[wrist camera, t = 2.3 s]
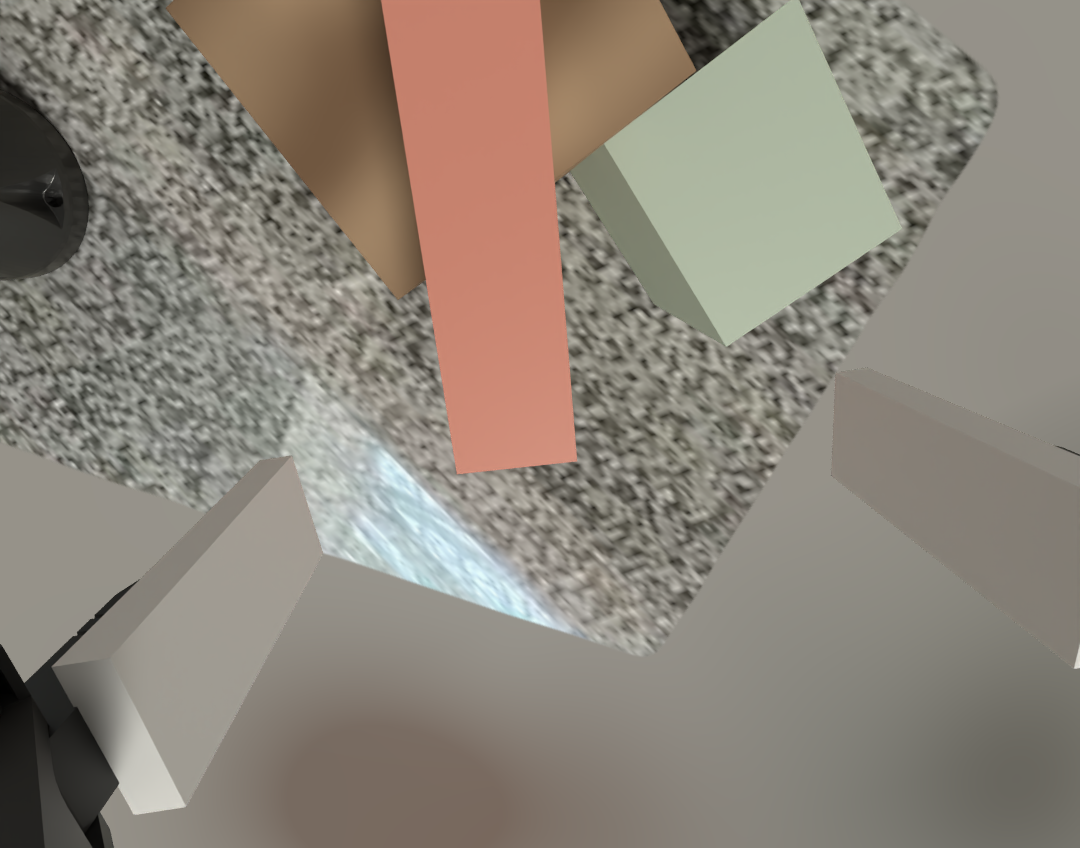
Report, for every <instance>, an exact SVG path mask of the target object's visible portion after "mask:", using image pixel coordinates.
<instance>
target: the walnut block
mask: <svg viewBox="0 0 1080 848" xmlns="http://www.w3.org/2000/svg"><path fill="white" fill-rule="evenodd" d="M540 7H541V20H542V32H543V45H544V57H545V70H546V82H547V94H548V107H549V119H550V132H551V144H552V157H553V169H554V182H556V181H558V180H559V179H560V178H562V177H563V176H564V175H566V174H567V173H568V172H569V171H571V170H572V169H573V168H574V167H576V166H577V165H578V164H579V163H581V162H582V161H583V160H584V159H586V158H587V157H588V156H589V155H590V154H592V153H593V152H594V151H595V150H597V149H598V148H599V147H600V146H602V145H603V144H604V143H605V142H607V141H608V140H609V139H611V138H612V137H613V136H615V135H616V134H617V133H618V132H620V131H621V130H622V129H624V128H625V127H626V126H628V125H629V124H630V123H631V122H633V121H634V120H635V119H637V118H638V117H639V116H640V115H642V114H643V113H644V112H645V111H647V110H648V109H649V108H650V107H652V106H653V105H654V104H655V103H657V102H658V101H659V100H660V99H662V98H663V97H664V96H665V95H667V94H668V93H669V92H670V91H672V90H673V89H674V88H675V87H677V86H678V85H679V84H680V83H682V82H683V81H684V80H685V79H687V78H688V77H689V76H690V75H692V74H693V73H694V72H695V71H696V69H695V67H694V65H693V63H692V61H691V59H690V57H689V56H688V54H687V52H686V50H685V48H684V46H683V44H682V42H681V40H680V38H679V37H678V35H677V33H676V31H675V29H674V27H673V25H672V23H671V21H670V19H669V18H668V16H667V14H666V12H665V10H664V8H663V6H662V4H661V2H660V0H540ZM166 9H167V11H168V12H169V13H170V14H171V16H172V17H173V18H174V19H175V21H176V22H177V23H178V24H179V26H180V27H181V28H182V29H183V31H184V32H185V33H186V35H187V36H188V37H189V38H190V40H191V41H192V42H193V43H194V45H195V46H196V47H197V48H198V50H199V51H200V52H201V53H202V55H203V56H204V57H205V58H206V60H207V61H208V62H209V63H210V65H211V66H212V67H213V68H214V70H215V71H216V72H217V73H218V75H219V76H220V77H221V78H222V80H223V81H224V82H225V83H226V85H227V86H228V87H229V88H230V90H231V91H232V92H233V94H234V95H235V96H236V97H237V99H238V100H239V101H240V102H241V104H242V105H243V106H244V107H245V109H246V110H247V111H248V112H249V114H250V115H251V116H252V117H253V119H254V120H255V121H256V122H257V124H258V125H259V126H260V127H261V129H262V130H263V131H264V132H265V134H266V135H267V136H268V137H269V139H270V140H271V141H272V142H273V144H274V145H275V146H276V147H277V149H278V150H279V151H280V153H281V154H282V155H283V156H284V158H285V159H286V160H287V161H288V163H289V164H290V165H291V166H292V168H293V169H294V170H295V171H296V173H297V174H298V175H299V176H300V178H301V179H302V180H303V181H304V183H305V184H306V185H307V186H308V188H309V189H310V190H311V191H312V193H313V194H314V195H315V196H316V198H317V199H318V200H319V201H320V203H321V204H322V205H323V206H324V208H325V209H326V210H327V212H328V213H329V214H330V215H331V217H332V218H333V219H334V220H335V222H336V223H337V224H338V225H339V227H340V228H341V229H342V230H343V232H344V233H345V234H346V235H347V237H348V238H349V239H350V240H351V242H352V243H353V244H354V245H355V247H356V248H357V249H358V250H359V252H360V253H361V254H362V255H363V257H364V258H365V259H366V260H367V262H368V263H369V264H370V265H371V267H372V268H373V269H374V270H375V272H376V273H377V274H378V276H379V277H380V278H381V279H382V281H383V282H384V283H385V284H386V286H387V287H388V288H389V289H390V291H391V292H392V293H393V294H394V296H395V297H396V298H397V299H398V300H399V299H400V298H401V297H403V296H404V295H406V294H407V293H408V292H410V291H411V290H413V289H414V288H415V287H417V286H418V285H420V284H421V283H422V282H424V281H425V280H426V277H425V271H424V265H423V259H422V252H421V246H420V240H419V234H418V227H417V221H416V215H415V209H414V202H413V196H412V190H411V184H410V177H409V171H408V165H407V159H406V152H405V146H404V140H403V134H402V128H401V121H400V115H399V109H398V103H397V96H396V90H395V84H394V78H393V71H392V65H391V59H390V53H389V46H388V40H387V34H386V28H385V22H384V15H383V9H382V3H381V0H174V1H173V2H172V3H171V4H169V5H168V6H167V7H166Z"/></svg>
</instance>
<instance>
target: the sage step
mask: <svg viewBox="0 0 1080 848" xmlns="http://www.w3.org/2000/svg"><path fill="white" fill-rule="evenodd" d="M570 172H571V174H572V175H573V177H574V179H575V180H576V182H577V183H578V185H579V186H580V188H581V190H582V191H583V193H584V194H585V196H586V198H587V199H588V201H589V202H590V204H591V205H592V207H593V209H594V210H595V212H596V213H597V215H598V216H599V218H600V220H601V221H602V223H603V224H604V226H605V228H606V229H607V231H608V232H609V234H610V235H611V237H612V239H613V240H614V242H615V243H616V245H617V246H618V248H619V250H620V251H621V253H622V254H623V256H624V258H625V259H626V261H627V262H628V264H629V265H630V267H631V269H632V270H633V272H634V273H635V275H636V276H637V278H638V280H639V281H640V283H641V284H642V286H643V288H644V289H645V291H646V292H647V294H648V295H649V297H650V299H651V300H652V302H653V303H654V304H655V305H656V306H658V307H660V308H661V309H663V310H665V311H666V312H668V313H670V314H672V315H673V316H675V317H677V318H678V319H680V320H682V321H683V322H685V323H687V324H689V325H690V326H692V327H694V328H695V329H697V330H699V331H700V332H702V333H704V334H706V335H707V336H709V337H711V338H712V339H714V340H716V341H717V342H719V343H721V344H722V345H724V346H726V347H727V346H728V345H730V344H731V343H733V342H734V341H736V340H737V339H739V338H740V337H742V336H743V335H745V334H746V333H748V332H749V331H750V330H752V329H753V328H755V327H756V326H758V325H759V324H761V323H762V322H764V321H765V320H767V319H768V318H770V317H771V316H773V315H774V314H776V313H777V312H779V311H780V310H782V309H783V308H785V307H786V306H788V305H789V304H791V303H792V302H794V301H795V300H797V299H798V298H800V297H801V296H803V295H804V294H806V293H807V292H809V291H810V290H811V289H813V288H814V287H816V286H817V285H819V284H820V283H822V282H823V281H825V280H826V279H828V278H829V277H831V276H832V275H834V274H835V273H837V272H838V271H840V270H841V269H843V268H844V267H846V266H847V265H849V264H850V263H852V262H853V261H855V260H856V259H858V258H859V257H861V256H862V255H864V254H865V253H867V252H868V251H870V250H871V249H872V248H874V247H875V246H877V245H878V244H880V243H881V242H883V241H884V240H886V239H887V238H889V237H890V236H892V235H893V234H895V233H896V232H898V231H899V230H901V229H902V228H901V225H900V223H899V221H898V219H897V216H896V214H895V212H894V210H893V208H892V205H891V203H890V201H889V199H888V196H887V194H886V192H885V190H884V188H883V185H882V183H881V181H880V179H879V177H878V174H877V172H876V170H875V168H874V165H873V163H872V161H871V159H870V157H869V154H868V152H867V150H866V148H865V145H864V143H863V141H862V139H861V137H860V134H859V132H858V130H857V128H856V126H855V123H854V121H853V119H852V117H851V114H850V112H849V110H848V108H847V106H846V103H845V101H844V99H843V97H842V94H841V92H840V90H839V88H838V86H837V83H836V81H835V79H834V77H833V75H832V72H831V70H830V68H829V66H828V63H827V61H826V59H825V57H824V55H823V52H822V50H821V48H820V46H819V43H818V41H817V39H816V37H815V35H814V32H813V30H812V28H811V26H810V24H809V21H808V19H807V17H806V15H805V12H804V10H803V8H802V6H801V4H800V1H799V0H790V1H789V2H788V3H786V4H785V5H784V6H783V7H781V8H780V9H779V10H777V11H776V12H775V13H773V14H772V15H771V16H770V17H768V18H767V19H766V20H764V21H763V22H762V23H760V24H759V25H758V26H757V27H755V28H754V29H753V30H751V31H750V32H749V33H747V34H746V35H745V36H743V37H742V38H741V39H740V40H738V41H737V42H736V43H734V44H733V45H732V46H730V47H729V48H728V49H727V50H725V51H724V52H723V53H721V54H720V55H719V56H717V57H716V58H715V59H714V60H712V61H711V62H710V63H708V64H707V65H706V66H704V67H703V68H702V69H701V70H699V71H698V72H697V73H695V74H694V75H693V76H691V77H690V78H689V79H687V80H686V81H685V82H684V83H682V84H681V85H680V86H678V87H677V88H676V89H674V90H673V91H672V92H671V93H669V94H668V95H667V96H665V97H664V98H663V99H661V100H660V101H659V102H658V103H656V104H655V105H654V106H652V107H651V108H650V109H648V110H647V111H646V112H644V113H643V114H642V115H641V116H639V117H638V118H637V119H635V120H634V121H633V122H631V123H630V124H629V125H628V126H626V127H625V128H624V129H622V130H621V131H620V132H618V133H617V134H616V135H615V136H613V137H612V138H611V139H609V140H608V141H607V142H605V143H604V144H603V145H602V146H600V147H599V148H598V149H597V150H595V151H594V152H593V153H592V154H590V155H589V156H588V157H587V158H586V159H584V160H583V161H582V162H581V163H579V164H578V165H577V166H576V167H574V168H573V169H572V170H571V171H570Z"/></svg>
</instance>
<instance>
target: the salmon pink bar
mask: <svg viewBox="0 0 1080 848" xmlns="http://www.w3.org/2000/svg"><path fill="white" fill-rule="evenodd" d="M381 3H382V9H383V15H384V22H385V28H386V34H387V40H388V46H389V53H390V59H391V65H392V71H393V78H394V84H395V90H396V96H397V103H398V109H399V115H400V121H401V128H402V134H403V140H404V146H405V152H406V159H407V165H408V171H409V177H410V184H411V190H412V196H413V202H414V209H415V215H416V221H417V227H418V234H419V240H420V246H421V252H422V259H423V265H424V271H425V277H426V283H427V290H428V296H429V302H430V308H431V315H432V321H433V327H434V333H435V340H436V346H437V352H438V358H439V365H440V371H441V377H442V383H443V389H444V396H445V402H446V408H447V414H448V421H449V427H450V433H451V439H452V446H453V452H454V458H455V464H456V471H457V474H463V473H473V472H482V471H491V470H500V469H510V468H519V467H528V466H537V465H547V464H556V463H565V462H574V461H577V455H576V443H575V430H574V418H573V405H572V393H571V380H570V368H569V356H568V343H567V331H566V318H565V306H564V293H563V281H562V269H561V256H560V244H559V231H558V219H557V206H556V194H555V182H554V169H553V157H552V144H551V132H550V119H549V107H548V94H547V82H546V70H545V57H544V45H543V32H542V20H541V7H540V0H381Z"/></svg>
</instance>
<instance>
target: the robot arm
mask: <svg viewBox="0 0 1080 848" xmlns="http://www.w3.org/2000/svg"><path fill="white" fill-rule="evenodd" d="M88 212H89V209H88V196H87V190H86V186H85V182H84V179H83V175H82V173H81V170H80V168H79V165H78V163H77V161H76V159H75V157H74V155H73V154H72V152H71V150H70V149H69V147H68V145H67V144H66V143H65V141H64V140H63V138H62V137H61V136H60V134H59V133H58V132H57V131H56V130H55V129H54V127H53V126H52V125H51V124H50V123H49V122H48V121H47V120H46V119H45V118H44V117H43V116H41V115H40V114H39V113H38V112H37V111H35V110H34V109H33V108H32V107H30V106H29V105H27V104H26V103H24V102H23V101H21V100H20V99H18V98H16V97H14V96H13V95H11V94H9V93H7V92H4V91H2V90H0V280H15V279H24V278H32V277H37V276H41V275H44V274H47V273H50V272H52V271H54V270H56V269H58V268H59V267H61V266H62V265H63V264H65V263H66V262H67V261H68V260H69V259H70V258H71V257H72V256H73V255H74V253H75V252H76V251H77V249H78V248H79V246H80V244H81V242H82V240H83V238H84V235H85V232H86V228H87V222H88ZM831 476H832V477H833V478H835V479H836V480H837V481H839V482H840V483H841V484H842V485H844V486H845V487H846V488H847V489H848V490H850V491H851V492H852V493H854V494H855V495H856V496H857V497H859V498H860V499H861V500H862V501H864V502H865V503H866V504H867V505H869V506H870V507H871V508H872V509H874V510H875V511H876V512H878V513H879V514H880V515H881V516H883V517H884V518H885V519H886V520H887V521H889V522H890V523H891V524H893V525H894V526H895V527H896V528H898V529H899V530H900V531H901V532H903V533H904V534H905V535H907V536H908V537H909V538H910V539H911V540H913V541H914V542H915V543H916V544H918V545H919V546H920V547H921V548H923V549H924V550H925V551H926V552H928V553H929V554H930V555H932V556H933V557H934V558H935V559H936V560H938V561H939V562H940V563H942V564H943V565H944V566H945V567H947V568H948V569H949V570H950V571H952V572H953V573H954V574H955V575H957V576H958V577H959V578H960V579H962V580H963V581H964V582H965V583H967V584H968V585H969V586H970V587H972V588H973V589H974V590H975V591H977V592H978V593H979V594H981V595H982V596H983V597H984V598H986V599H987V600H988V601H989V602H991V603H992V604H993V605H994V606H996V607H997V608H998V609H999V610H1001V611H1002V612H1003V613H1004V614H1006V615H1007V616H1008V617H1010V618H1011V619H1012V620H1013V621H1014V622H1016V623H1017V624H1018V625H1020V626H1021V627H1022V628H1023V629H1025V630H1026V631H1027V632H1028V633H1030V634H1031V635H1032V636H1033V637H1035V638H1036V639H1037V640H1039V641H1040V642H1041V643H1042V644H1044V645H1045V646H1046V647H1047V648H1048V649H1050V650H1051V651H1052V652H1054V653H1055V654H1056V655H1057V656H1059V657H1060V658H1061V659H1062V660H1064V661H1065V662H1066V663H1067V664H1069V665H1070V666H1071V667H1072V668H1074V669H1076V668H1080V455H1079V454H1077V453H1075V452H1072V451H1070V450H1067V449H1065V448H1062V447H1058V446H1054V445H1051V444H1049V443H1046V442H1044V441H1042V440H1039V439H1037V438H1035V437H1032V436H1030V435H1027V434H1025V433H1023V432H1020V431H1018V430H1015V429H1013V428H1010V427H1008V426H1006V425H1003V424H1001V423H998V422H996V421H994V420H991V419H989V418H987V417H984V416H982V415H979V414H977V413H975V412H972V411H970V410H967V409H965V408H962V407H960V406H958V405H955V404H953V403H951V402H948V401H945V400H943V399H941V398H939V397H936V396H934V395H931V394H929V393H927V392H924V391H922V390H919V389H917V388H915V387H912V386H910V385H907V384H905V383H903V382H900V381H898V380H895V379H893V378H891V377H888V376H886V375H883V374H881V373H878V372H876V371H874V370H871V369H869V368H861V369H855V370H848V371H842V372H835V399H834V423H833V448H832V471H831ZM322 555H323V551H322V548H321V545H320V542H319V539H318V536H317V533H316V529H315V526H314V523H313V520H312V517H311V514H310V511H309V508H308V504H307V501H306V498H305V495H304V492H303V489H302V486H301V483H300V479H299V476H298V473H297V470H296V467H295V464H294V461H293V458H292V456H286V457H279V458H273V459H266V460H260V461H259V462H258V463H257V464H256V465H255V466H254V467H253V468H252V469H251V470H250V471H249V472H248V473H247V474H246V475H245V476H244V477H243V478H242V479H241V480H240V481H239V482H238V483H237V484H236V485H235V486H234V487H233V488H232V489H231V490H230V491H229V492H228V493H227V494H226V495H225V496H224V497H223V498H222V499H221V500H220V501H219V502H218V503H217V504H216V505H215V506H213V507H212V508H211V509H210V510H209V511H208V512H207V513H206V514H205V515H204V516H203V517H202V518H201V519H200V520H199V521H198V522H197V523H196V524H195V525H194V526H193V527H192V528H191V529H190V530H189V531H188V532H187V533H186V534H185V535H184V536H183V537H182V538H181V539H180V540H179V541H178V542H177V543H176V544H175V545H174V546H173V547H172V548H171V549H170V550H169V551H168V552H167V553H166V554H165V555H164V556H163V557H162V558H161V559H160V560H159V561H158V562H157V563H156V564H155V565H154V566H153V567H152V568H151V569H150V570H149V571H148V572H147V573H146V574H145V575H144V576H143V577H142V578H141V579H139V580H138V581H136V582H135V583H133V584H132V585H130V586H129V587H127V588H126V589H124V590H122V591H121V592H119V593H118V594H116V595H115V596H114V597H113V598H112V599H111V600H110V601H109V602H108V603H107V604H106V605H105V606H104V607H103V608H102V609H101V610H100V611H99V612H98V613H96V614H95V619H90V620H89V621H88V622H87V623H86V624H85V625H84V626H83V627H82V628H81V629H80V630H79V631H78V632H77V634H78V635H77V636H73V637H72V638H71V639H70V640H69V641H68V642H67V643H65V644H64V646H62V647H61V648H60V649H59V650H58V651H57V652H56V653H55V654H54V655H53V656H52V657H51V658H50V659H49V660H48V661H47V662H46V663H45V664H44V665H43V666H42V667H41V668H40V669H39V670H38V671H37V672H36V673H34V674H33V675H32V676H31V677H30V678H29V679H28V680H27V681H26V682H25V683H24V682H23V681H22V679H21V677H20V675H19V674H18V672H17V671H16V669H15V667H14V665H13V664H12V662H11V660H10V659H9V657H8V655H7V653H6V652H5V650H4V648H3V647H2V645H1V644H0V848H114V846H113V842H112V837H111V832H110V829H109V827H108V825H107V824H106V822H105V820H104V818H103V817H102V815H101V813H100V811H101V810H102V808H103V807H104V805H105V804H106V802H107V801H108V799H109V798H110V796H111V795H112V793H113V792H114V790H115V789H116V788H117V786H118V787H119V789H120V791H121V793H122V794H123V796H124V798H125V800H126V801H127V803H128V805H129V807H130V809H131V810H132V812H133V814H134V815H137V814H143V813H150V812H155V811H163V810H169V809H175V808H182V807H186V806H187V804H188V803H189V801H190V799H191V797H192V795H193V793H194V791H195V789H196V788H197V786H198V784H199V782H200V780H201V779H202V777H203V775H204V773H205V771H206V769H207V768H208V766H209V764H210V762H211V760H212V758H213V756H214V755H215V753H216V751H217V749H218V747H219V745H220V744H221V742H222V740H223V738H224V736H225V734H226V732H227V731H228V729H229V727H230V725H231V723H232V721H233V719H234V718H235V716H236V714H237V712H238V710H239V709H240V707H241V704H242V703H243V701H244V699H245V697H246V695H247V694H248V692H249V690H250V688H251V686H252V684H253V683H254V681H255V679H256V677H257V675H258V673H259V671H260V670H261V668H262V666H263V664H264V662H265V661H266V659H267V657H268V655H269V653H270V651H271V649H272V648H273V646H274V644H275V642H276V640H277V638H278V637H279V635H280V633H281V631H282V629H283V627H284V626H285V624H286V621H287V620H288V618H289V616H290V614H291V613H292V611H293V609H294V607H295V605H296V603H297V601H298V600H299V598H300V596H301V594H302V592H303V590H304V589H305V587H306V585H307V583H308V581H309V579H310V577H311V576H312V574H313V572H314V570H315V568H316V567H317V565H318V563H319V560H320V559H321V557H322Z"/></svg>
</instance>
